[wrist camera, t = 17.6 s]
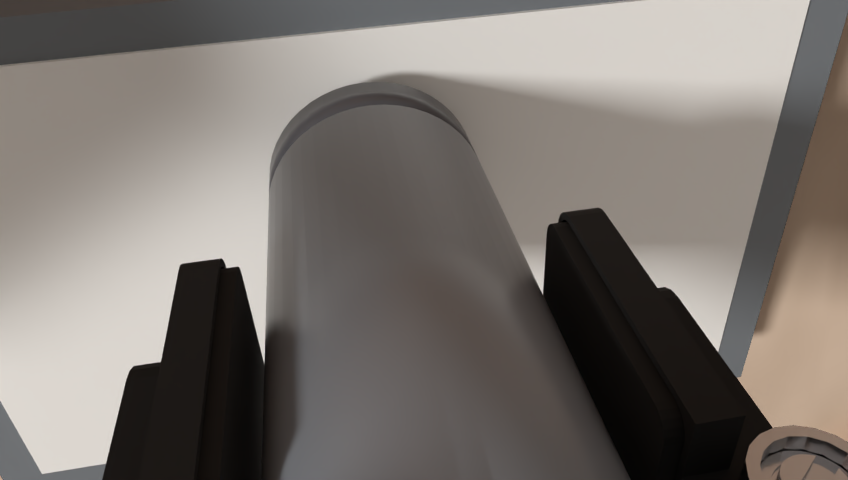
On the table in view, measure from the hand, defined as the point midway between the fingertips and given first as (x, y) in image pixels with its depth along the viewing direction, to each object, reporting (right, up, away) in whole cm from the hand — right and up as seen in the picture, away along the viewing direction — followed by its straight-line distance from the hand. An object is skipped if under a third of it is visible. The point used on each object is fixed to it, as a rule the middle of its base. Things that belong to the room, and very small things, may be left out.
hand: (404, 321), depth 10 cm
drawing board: (-1, +2, +7) cm, 8 cm away
